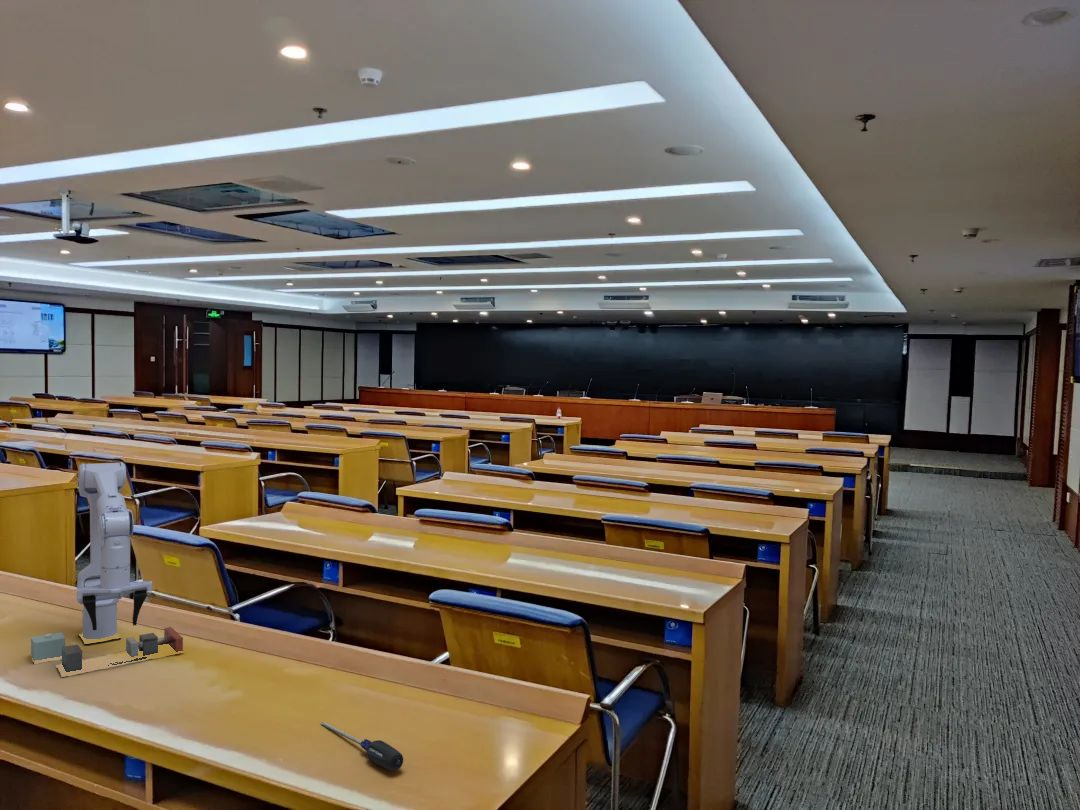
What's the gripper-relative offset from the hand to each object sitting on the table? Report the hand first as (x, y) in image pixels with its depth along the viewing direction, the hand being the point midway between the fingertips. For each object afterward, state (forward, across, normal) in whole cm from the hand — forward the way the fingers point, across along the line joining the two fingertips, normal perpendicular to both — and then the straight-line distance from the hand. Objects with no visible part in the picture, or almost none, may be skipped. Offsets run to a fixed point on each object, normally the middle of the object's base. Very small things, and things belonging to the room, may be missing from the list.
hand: (114, 626), depth 166 cm
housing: (+10, -13, +15) cm, 22 cm away
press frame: (+10, +1, +6) cm, 12 cm away
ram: (+9, +8, +7) cm, 14 cm away
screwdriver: (+10, +37, -60) cm, 71 cm away
